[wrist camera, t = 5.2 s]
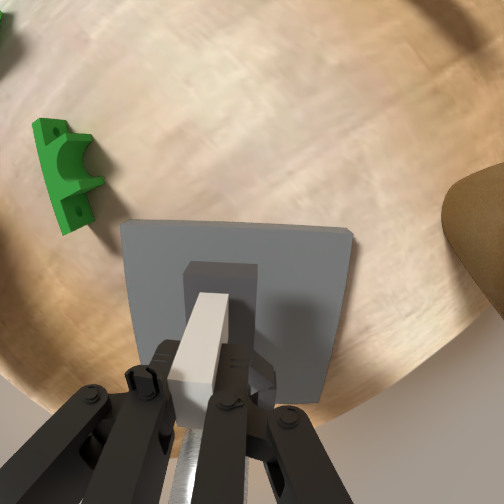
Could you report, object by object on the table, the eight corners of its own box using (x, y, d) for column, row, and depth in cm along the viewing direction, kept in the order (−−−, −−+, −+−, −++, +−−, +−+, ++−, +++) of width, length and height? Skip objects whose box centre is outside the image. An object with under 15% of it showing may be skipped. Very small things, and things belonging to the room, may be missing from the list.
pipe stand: (152, 381, 32) (147, 392, 30) (129, 219, 25) (120, 224, 23) (316, 391, 32) (318, 402, 30) (346, 228, 25) (353, 233, 23)
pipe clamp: (116, 211, 25) (92, 223, 21) (88, 223, 26) (63, 236, 21) (85, 107, 22) (58, 103, 18) (58, 124, 22) (30, 123, 18)
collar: (181, 406, 21) (177, 423, 19) (163, 259, 17) (153, 271, 15) (270, 412, 21) (270, 430, 19) (286, 265, 17) (289, 278, 15)
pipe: (209, 349, 27) (166, 547, 8) (207, 310, 26) (146, 530, 7) (254, 351, 27) (248, 556, 8) (256, 313, 26) (251, 544, 7)
